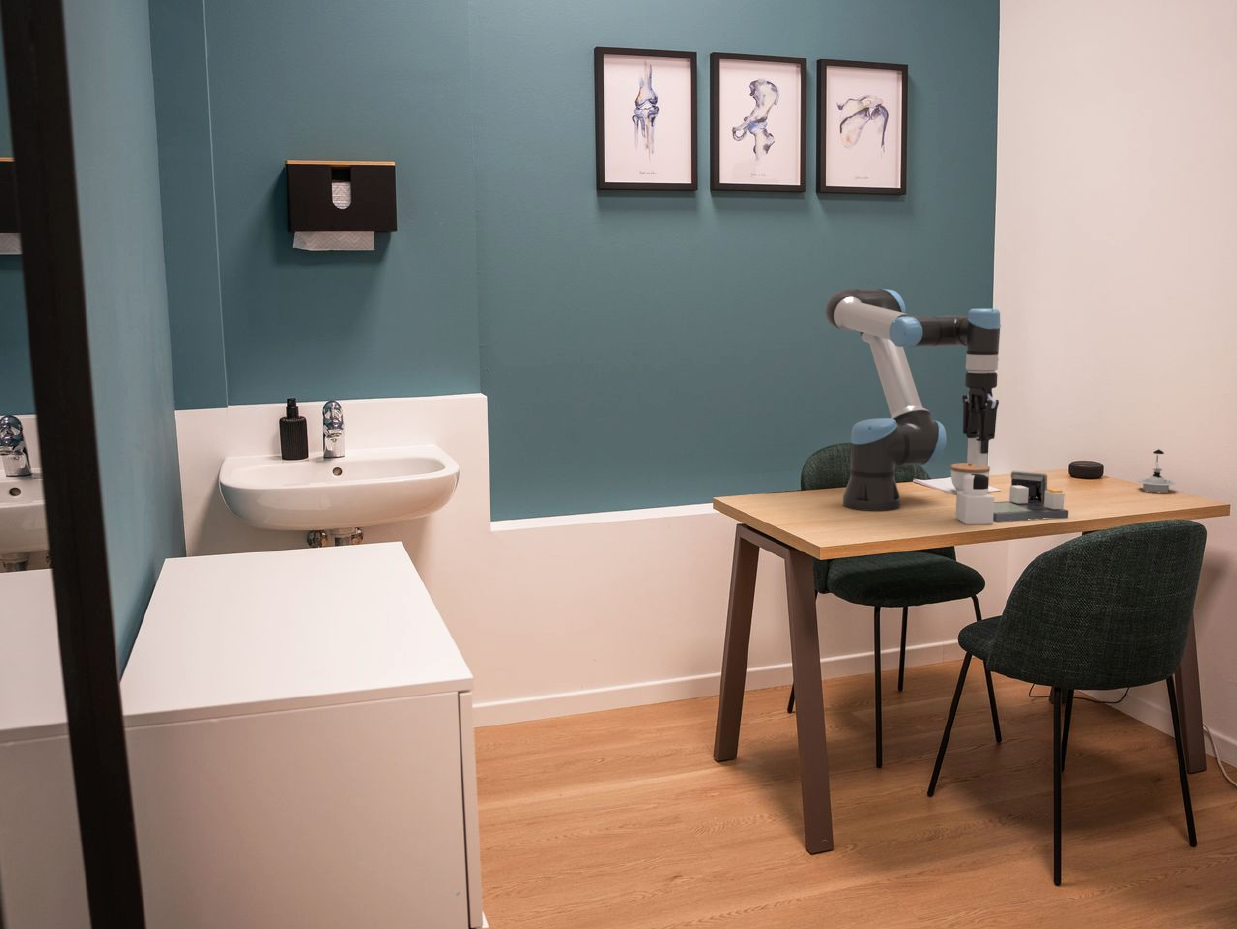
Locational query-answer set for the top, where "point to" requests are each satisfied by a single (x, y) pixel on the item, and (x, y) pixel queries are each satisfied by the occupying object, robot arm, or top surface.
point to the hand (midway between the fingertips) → (976, 464)
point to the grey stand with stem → (1156, 480)
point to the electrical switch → (1031, 483)
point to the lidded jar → (965, 473)
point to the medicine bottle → (975, 501)
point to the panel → (1025, 511)
